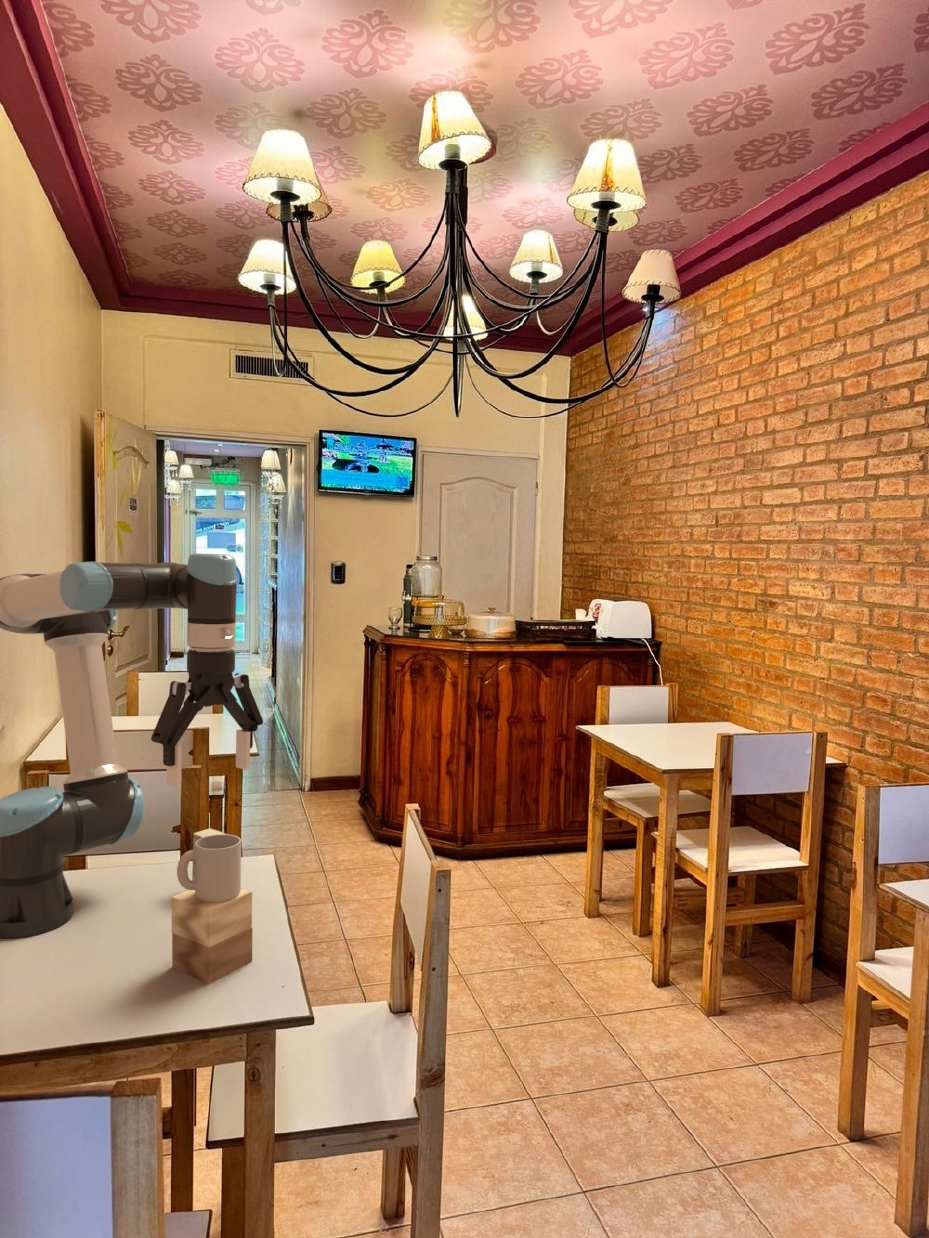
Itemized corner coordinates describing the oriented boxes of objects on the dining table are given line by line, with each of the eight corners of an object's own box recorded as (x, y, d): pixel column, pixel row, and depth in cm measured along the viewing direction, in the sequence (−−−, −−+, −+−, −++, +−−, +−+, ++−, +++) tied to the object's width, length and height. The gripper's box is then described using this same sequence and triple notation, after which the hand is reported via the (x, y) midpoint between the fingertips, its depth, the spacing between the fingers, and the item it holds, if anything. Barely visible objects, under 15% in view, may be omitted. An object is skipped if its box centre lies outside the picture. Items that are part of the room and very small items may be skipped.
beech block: (171, 932, 132) (171, 896, 132) (215, 912, 140) (215, 879, 140) (209, 947, 128) (209, 910, 127) (251, 926, 135) (252, 891, 135)
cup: (242, 900, 131) (243, 846, 131) (177, 908, 128) (177, 853, 127) (238, 883, 138) (239, 832, 137) (176, 890, 135) (176, 838, 134)
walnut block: (172, 968, 133) (172, 932, 132) (216, 947, 140) (216, 913, 140) (208, 985, 128) (208, 948, 127) (252, 962, 135) (252, 927, 135)
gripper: (157, 657, 119) (156, 797, 121) (285, 645, 139) (282, 765, 141) (127, 652, 123) (127, 787, 125) (256, 641, 144) (254, 758, 145)
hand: (209, 776), depth 133 cm, fingers open, 13 cm apart
